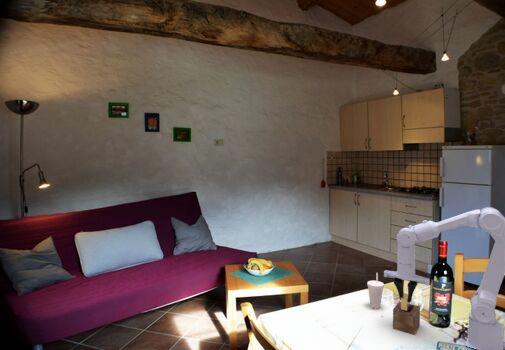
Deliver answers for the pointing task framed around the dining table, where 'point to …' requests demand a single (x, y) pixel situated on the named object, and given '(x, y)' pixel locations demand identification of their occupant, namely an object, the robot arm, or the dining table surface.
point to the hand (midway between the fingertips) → (405, 300)
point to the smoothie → (375, 292)
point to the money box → (406, 318)
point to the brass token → (405, 302)
